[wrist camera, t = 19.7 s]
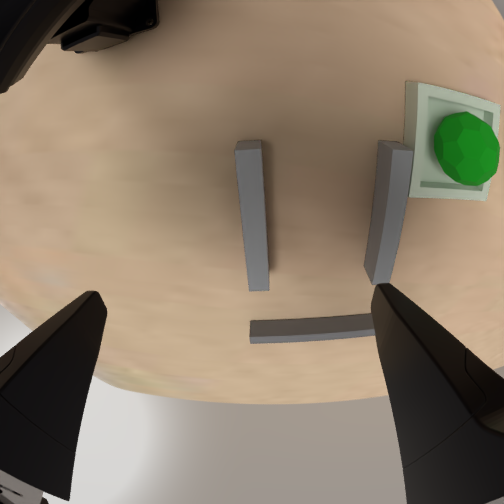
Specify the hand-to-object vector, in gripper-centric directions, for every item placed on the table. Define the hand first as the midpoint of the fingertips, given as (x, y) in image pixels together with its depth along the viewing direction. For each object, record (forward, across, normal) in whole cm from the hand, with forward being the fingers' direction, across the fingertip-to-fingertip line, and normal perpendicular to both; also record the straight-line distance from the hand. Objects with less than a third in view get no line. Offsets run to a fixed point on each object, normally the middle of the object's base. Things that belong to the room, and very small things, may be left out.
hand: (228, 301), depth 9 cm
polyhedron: (+12, -15, -3) cm, 19 cm away
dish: (+12, -15, -2) cm, 20 cm away
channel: (+12, -5, +6) cm, 15 cm away
